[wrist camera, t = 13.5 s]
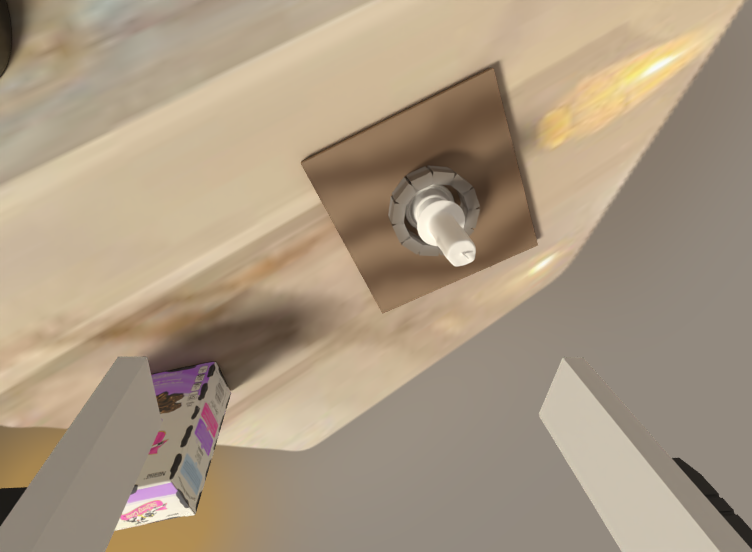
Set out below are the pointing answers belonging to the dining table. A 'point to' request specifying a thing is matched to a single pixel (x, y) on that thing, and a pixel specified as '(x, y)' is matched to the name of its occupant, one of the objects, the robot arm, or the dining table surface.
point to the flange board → (417, 171)
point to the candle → (441, 223)
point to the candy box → (179, 445)
